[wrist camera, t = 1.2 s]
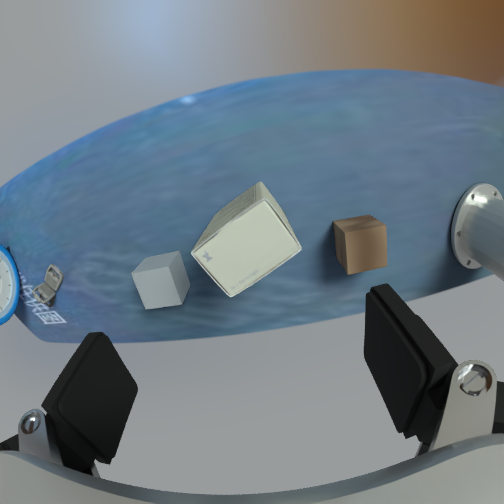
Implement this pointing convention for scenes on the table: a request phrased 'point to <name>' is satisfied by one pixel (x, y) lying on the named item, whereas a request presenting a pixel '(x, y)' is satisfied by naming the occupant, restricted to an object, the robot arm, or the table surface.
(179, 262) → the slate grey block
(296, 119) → the table surface
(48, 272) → the strap clip
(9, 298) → the alarm clock
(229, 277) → the skincare box
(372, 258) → the walnut block
